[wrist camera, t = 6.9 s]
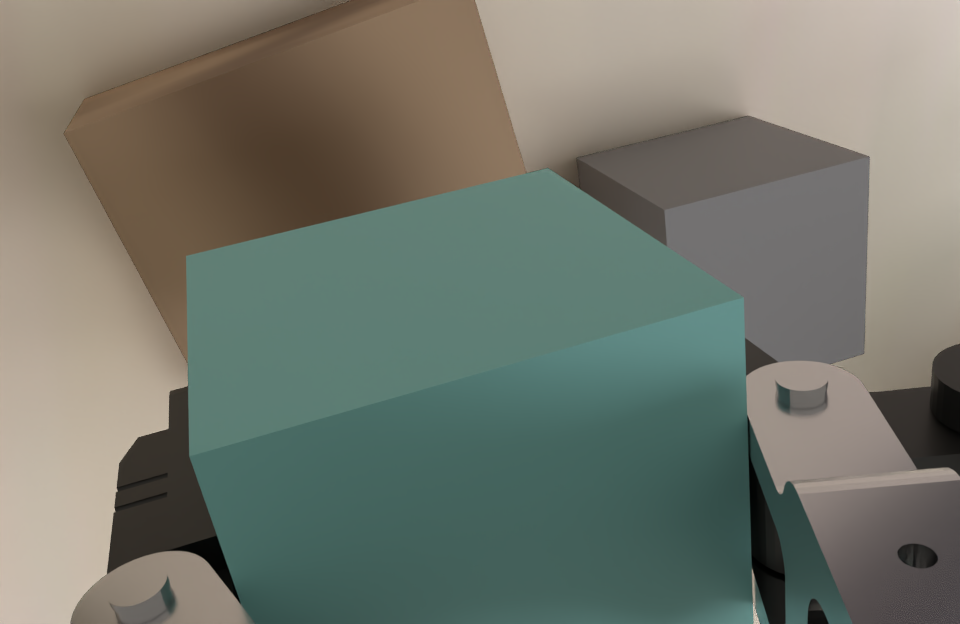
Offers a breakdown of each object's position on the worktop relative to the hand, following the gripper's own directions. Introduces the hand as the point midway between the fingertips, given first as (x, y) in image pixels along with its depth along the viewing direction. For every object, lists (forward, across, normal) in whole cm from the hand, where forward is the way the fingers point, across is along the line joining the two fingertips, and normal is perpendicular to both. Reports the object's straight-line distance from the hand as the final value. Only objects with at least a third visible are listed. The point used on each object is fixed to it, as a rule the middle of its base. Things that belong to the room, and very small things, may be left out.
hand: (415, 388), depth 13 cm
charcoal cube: (+10, -9, +3) cm, 14 cm away
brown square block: (+11, 0, 0) cm, 11 cm away
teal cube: (+1, 0, 0) cm, 1 cm away
